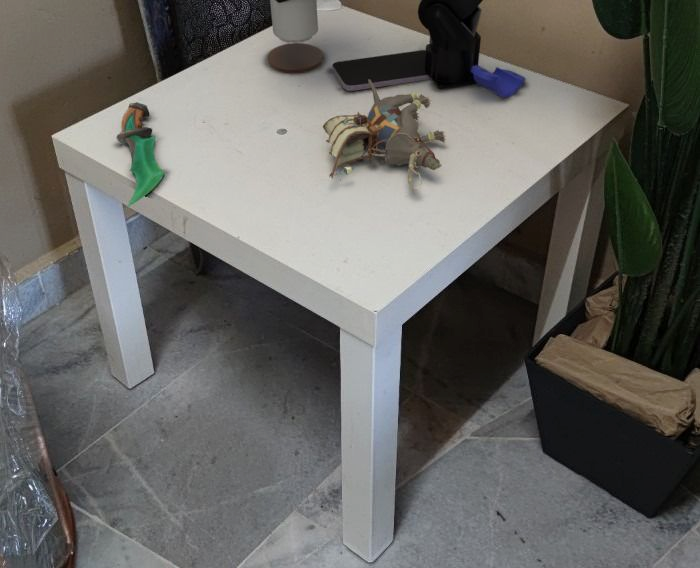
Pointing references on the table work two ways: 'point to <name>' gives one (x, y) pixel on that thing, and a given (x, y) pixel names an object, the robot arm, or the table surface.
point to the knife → (140, 150)
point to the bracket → (498, 80)
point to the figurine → (384, 135)
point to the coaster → (295, 58)
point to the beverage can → (294, 20)
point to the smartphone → (381, 70)
